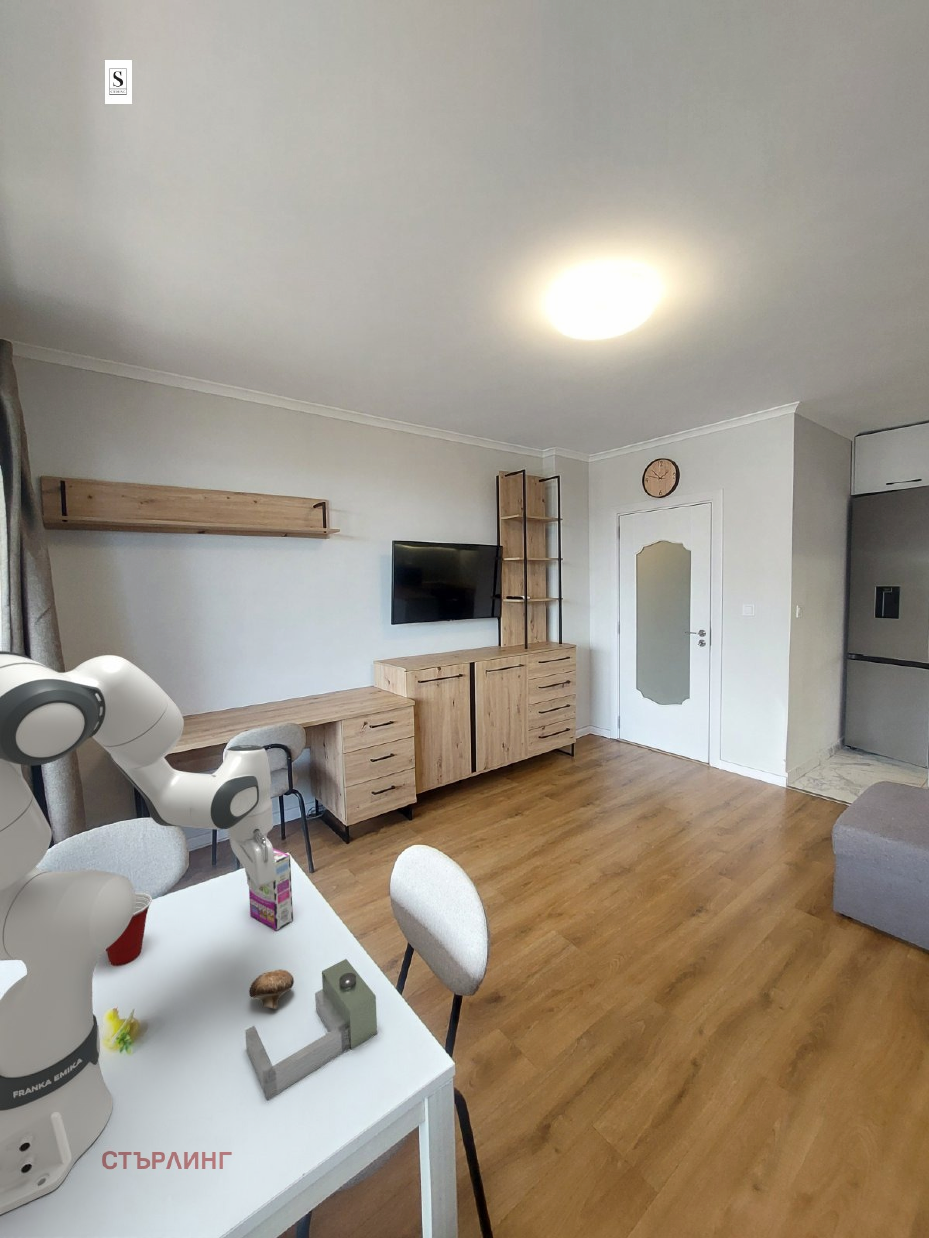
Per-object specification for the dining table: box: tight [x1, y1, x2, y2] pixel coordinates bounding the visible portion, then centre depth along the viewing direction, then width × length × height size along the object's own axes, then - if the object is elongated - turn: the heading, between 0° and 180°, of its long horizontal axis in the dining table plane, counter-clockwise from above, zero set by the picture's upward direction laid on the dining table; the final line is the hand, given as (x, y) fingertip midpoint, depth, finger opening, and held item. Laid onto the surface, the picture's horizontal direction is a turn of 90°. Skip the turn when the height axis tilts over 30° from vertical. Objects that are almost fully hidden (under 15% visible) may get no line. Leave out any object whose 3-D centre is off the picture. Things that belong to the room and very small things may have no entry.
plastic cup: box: [105, 892, 153, 967], centre depth 111 cm, size 11×11×12 cm
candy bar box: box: [248, 847, 294, 932], centre depth 123 cm, size 11×5×16 cm, turn 55°
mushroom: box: [248, 969, 295, 1010], centre depth 97 cm, size 8×8×6 cm
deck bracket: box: [244, 958, 378, 1101], centre depth 88 cm, size 19×12×8 cm, turn 128°
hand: (253, 886), depth 105 cm, fingers closed
